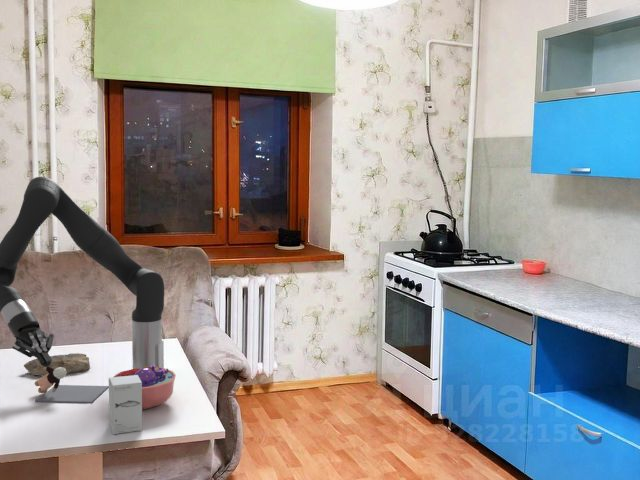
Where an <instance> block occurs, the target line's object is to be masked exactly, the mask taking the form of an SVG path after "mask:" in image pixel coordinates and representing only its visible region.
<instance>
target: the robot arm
mask: <svg viewBox="0 0 640 480" xmlns="http://www.w3.org/2000/svg"><path fill="white" fill-rule="evenodd" d="M51 214H52V215H53V216H54V217H55V218H56V219H57V220H58V221H59V222H60V223H61V224H62V225H63V227H64V228H65V230H66V231H67V233H68V234H69V236H70V238H71V240H72V241H73V242H74V243H75V245H76V246H77V247H78V248H79V249H80V250H81V251H82V252H84V253H85V254H86V255H87V256H89V257H90V258H91V259H92V260H94V261H95V262H96V263H97V264H99V265H100V266H101V267H103V268H104V269H106V270H108V271H109V272H111V273H112V274H113V275H114V276H115V277H116V278H118V280H119V281H120V282H121V283H122V284H123V285H124V286H125V288H127V290H129V292H130V293H132V294H133V295H134V296H135V298H136V301H135V303H136V304H135V308H134V309H133V311H132V312H131V328H132V329H131V341H132V342H131V345H132V347H131V350H132V369H134V368H140V367H146V366H152V365H155V367H162V368H165V367H164V366H165V359H164V357H165V354H164V353H165V352H164V350H165V349H164V345H165V344H164V340H162V339H163V337H162V334H163V333H162V332H163V331H162V325H163V324H162V323H163V322H162V321H163V320H162V317H163V316H162V314H163V312H164V308H165V283H164V279H163V277H162V275H161V274H160V273H159V272H157V271H154V270H152V269H151V270H150V269H148V268H146V267H144V266H142V265H141V264H139V263H138V262H137V261H135V260H134V259H133V258H132V257H130V256H129V255H128V253H127V252H126V251H125V250H124V248H123V247H122V245H121V244H120V243H119V241H118V240H117V239H116V238H115V236H113V235H112V233H110V231H108V230H107V229H106V228H104V226H102V225H101V224H100V223H98V222H97V221H96V220H95V219H94V218H93V217H92V216H91V215H90V214H88V213H87V212H86V211H85V210H83V209H82V208H81V207H80V206H79V205H78V204H77V203H76V202H75V201H74V200H73V199H72V198H71V197H70V196H69V195H68V193H66V192H65V191H64V189H63V188H62V187H61V186H60V185H59V184H58V183H57V182H56V181H55V180H53V179H51V178H49V177H46V176H36V177H34V178H32V179H31V180H30V181H29V183H28V184H27V187H26V188H25V192H24V194H23V200H22V204H21V207H20V210H19V213H18V215H17V217H16V219H15V221H14V223H13V225H12V226H11V227H10V229H9V230H8V231H7V232H6V234H4V237H3V238H2V240H1V241H0V313H1V316H2V318H3V320H4V323H6V326H7V328H9V330H10V332H11V334H12V335H13V338H15V342H14V343H13V345H12V349H13V350H15V351H17V352H18V353H21V354H23V355H24V356H26V357H27V358H33V357H34V358H35V359H38V360H39V362H40V364H41V365H42V366H44V367H47V366H50V364H51V361H52V359H51V357H50V356H51V355H50V354H49V352H50V351H51V349H52V346H53V344H54V343H53V342H54V337H55V335H54V334H53V333H50V334H48V333H46V332H45V331H44V330H43V329H41V326H40V323H39V321H38V320H37V317H36V316H35V315H34V312H33V311H32V309H31V308H30V306H29V305H28V304H27V303H26V301H25V300H24V298H23V297H22V296H21V294H20V292H19V291H18V290H17V288H15V287H12V286H11V285H12V284H13V283H14V281H15V279H16V274H17V269H18V268H17V267H18V265H19V262H20V260H21V259H22V256H23V255H24V254H25V252H26V250H27V248H28V247H29V244H30V242H32V239H33V237H34V235H35V234H36V233H37V231H38V230H39V228H40V227H41V226H42V224H43V223H44V222H45V221H46V220H47V219H48V217H50V215H51Z"/></svg>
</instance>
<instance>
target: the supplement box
mask: <svg viewBox="0 0 640 480" xmlns="http://www.w3.org/2000/svg"><path fill="white" fill-rule="evenodd" d="M108 386H109V388H108V420H109V421H108V425H109V428H110V431H111V433H112V435H117V434H125V433H130V432H131V433H132V432H140V431H143V409H142V382H141V380H140V378H139V376H138V375H132V376H121V377H108Z"/></svg>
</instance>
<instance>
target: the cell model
mask: <svg viewBox="0 0 640 480" xmlns="http://www.w3.org/2000/svg"><path fill="white" fill-rule="evenodd" d="M132 375H138V376H139V378H140V380H141V382H142V410H147V409H150V408H154V407H158V406H161V404H164V403H166V402H167V401H168V400H169V399H170V398H171V397H172V395H173V393H174V386H175V385H174V384H175V379H176V373H175V372H174V371H173V370H170V369H169V368H165V367H164V368H162V367H155V365H152V366H146V367H140V368H134V369H133V368H132V369H128V370H123V371H119V372H118V373H116V374H115V375H113V377H121V376H132Z"/></svg>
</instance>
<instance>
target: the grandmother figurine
mask: <svg viewBox="0 0 640 480" xmlns="http://www.w3.org/2000/svg"><path fill="white" fill-rule="evenodd" d="M43 369H44V370H46V371H47V372H48V373H49V374H46V375H45V376H40V378H38V379H36V380H35V381H34V385H35V386H36V387H39V388H38V389H37V391H38V393H39V394H45V393H46V392H47V391H48V390H50V389H51V387H52V388H53V389H52V392H55V391H56V389H57V388H58V386H59V385H60V381H61V379H63V378H65V377H66V376H67V374H66V373H67V372H66V369H65V368H63V367H58V368H56V369H53V368H51V367H43Z"/></svg>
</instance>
